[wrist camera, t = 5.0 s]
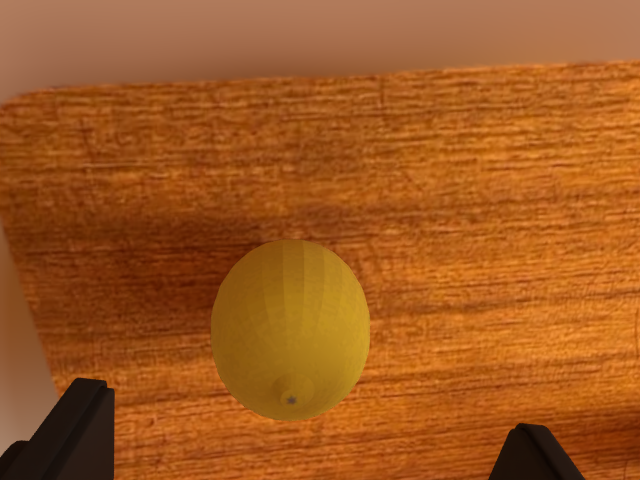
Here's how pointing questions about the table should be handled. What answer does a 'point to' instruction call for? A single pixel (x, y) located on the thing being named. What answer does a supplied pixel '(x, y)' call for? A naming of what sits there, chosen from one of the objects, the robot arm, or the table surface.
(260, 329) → the lemon
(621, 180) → the table surface
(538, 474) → the robot arm
